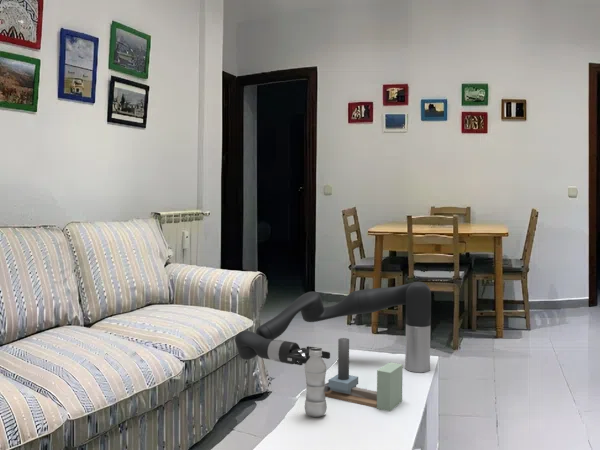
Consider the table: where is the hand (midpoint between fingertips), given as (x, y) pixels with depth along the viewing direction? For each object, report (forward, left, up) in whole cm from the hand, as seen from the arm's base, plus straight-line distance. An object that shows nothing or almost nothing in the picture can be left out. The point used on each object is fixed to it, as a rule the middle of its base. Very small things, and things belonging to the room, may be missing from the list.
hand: (323, 358), depth 189 cm
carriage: (0, +8, -9) cm, 12 cm away
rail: (0, +12, -11) cm, 16 cm away
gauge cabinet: (0, +24, -11) cm, 26 cm away
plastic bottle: (+20, +9, -11) cm, 24 cm away
